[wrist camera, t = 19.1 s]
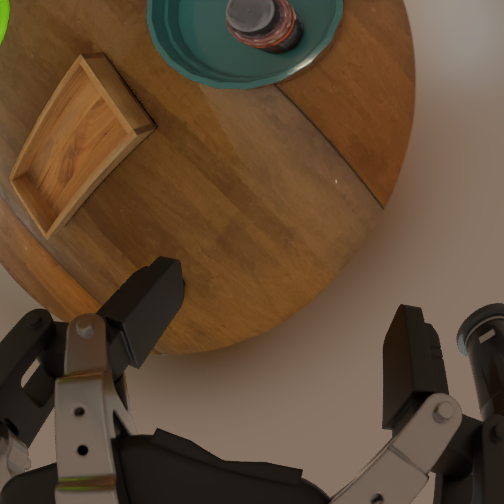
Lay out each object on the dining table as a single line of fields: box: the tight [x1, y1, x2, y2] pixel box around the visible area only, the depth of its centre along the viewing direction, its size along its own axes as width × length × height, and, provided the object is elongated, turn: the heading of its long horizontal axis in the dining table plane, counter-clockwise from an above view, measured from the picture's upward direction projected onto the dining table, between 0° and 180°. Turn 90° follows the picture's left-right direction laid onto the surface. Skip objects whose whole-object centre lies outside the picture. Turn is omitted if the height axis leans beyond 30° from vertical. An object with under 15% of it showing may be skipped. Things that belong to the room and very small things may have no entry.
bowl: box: [146, 0, 343, 89], centre depth 24 cm, size 20×20×6 cm
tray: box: [9, 53, 156, 240], centre depth 40 cm, size 31×15×6 cm, turn 126°
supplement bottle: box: [225, 0, 303, 54], centre depth 23 cm, size 6×6×11 cm
